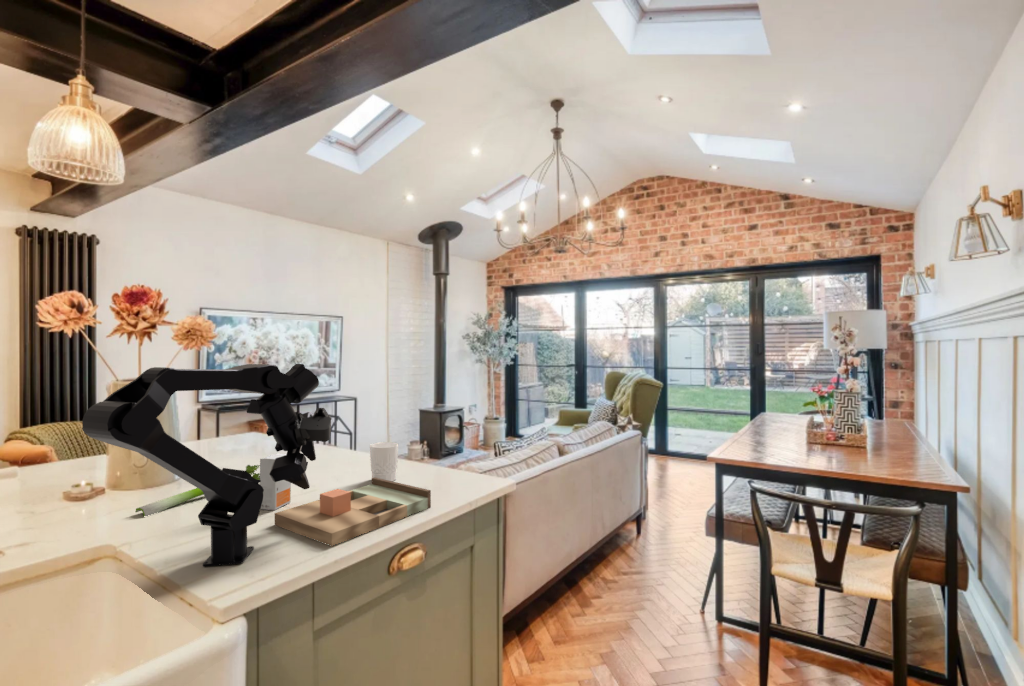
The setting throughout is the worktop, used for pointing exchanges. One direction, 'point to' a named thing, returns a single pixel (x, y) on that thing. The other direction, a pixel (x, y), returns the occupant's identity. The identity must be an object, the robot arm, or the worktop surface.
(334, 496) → the block
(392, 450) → the white cup
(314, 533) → the board
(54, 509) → the worktop surface
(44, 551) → the worktop surface
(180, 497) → the leek
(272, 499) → the skincare box
